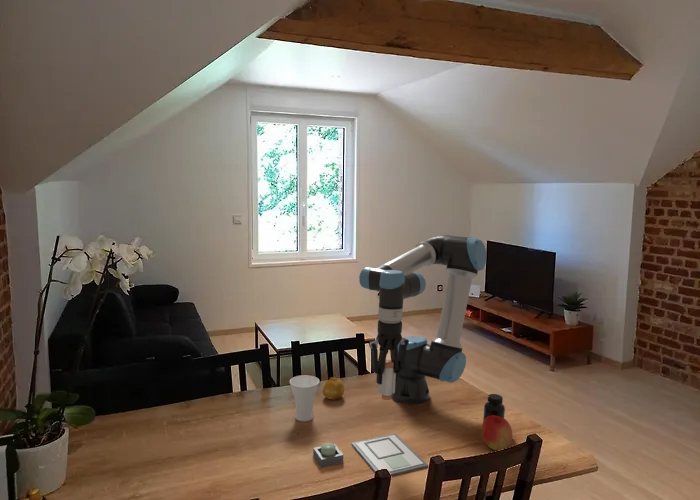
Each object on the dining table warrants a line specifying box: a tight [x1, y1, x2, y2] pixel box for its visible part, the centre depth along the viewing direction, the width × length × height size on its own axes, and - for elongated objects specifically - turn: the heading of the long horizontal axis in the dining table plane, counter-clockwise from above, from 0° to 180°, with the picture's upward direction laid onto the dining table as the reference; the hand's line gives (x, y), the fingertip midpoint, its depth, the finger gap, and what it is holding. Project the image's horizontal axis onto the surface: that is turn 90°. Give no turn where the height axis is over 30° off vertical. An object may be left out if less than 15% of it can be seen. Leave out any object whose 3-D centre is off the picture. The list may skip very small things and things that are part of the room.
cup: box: [289, 374, 320, 422], centre depth 183 cm, size 10×10×14 cm
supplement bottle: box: [482, 393, 506, 422], centre depth 177 cm, size 7×7×12 cm
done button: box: [321, 442, 337, 457], centre depth 157 cm, size 4×4×3 cm
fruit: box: [322, 376, 345, 401], centre depth 200 cm, size 8×8×8 cm
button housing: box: [312, 443, 344, 468], centre depth 158 cm, size 7×7×2 cm
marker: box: [381, 359, 394, 401], centre depth 164 cm, size 4×4×12 cm
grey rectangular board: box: [350, 433, 429, 477], centre depth 160 cm, size 20×16×1 cm
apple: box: [481, 415, 513, 451], centre depth 165 cm, size 10×10×10 cm
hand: (386, 392), depth 164 cm, fingers closed on marker, 3 cm apart
